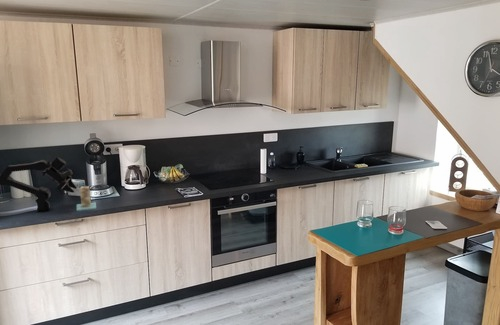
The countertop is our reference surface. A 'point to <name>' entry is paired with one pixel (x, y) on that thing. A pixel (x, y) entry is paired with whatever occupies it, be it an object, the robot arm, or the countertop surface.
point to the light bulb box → (78, 184)
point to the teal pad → (92, 206)
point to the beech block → (85, 196)
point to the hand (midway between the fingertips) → (75, 190)
